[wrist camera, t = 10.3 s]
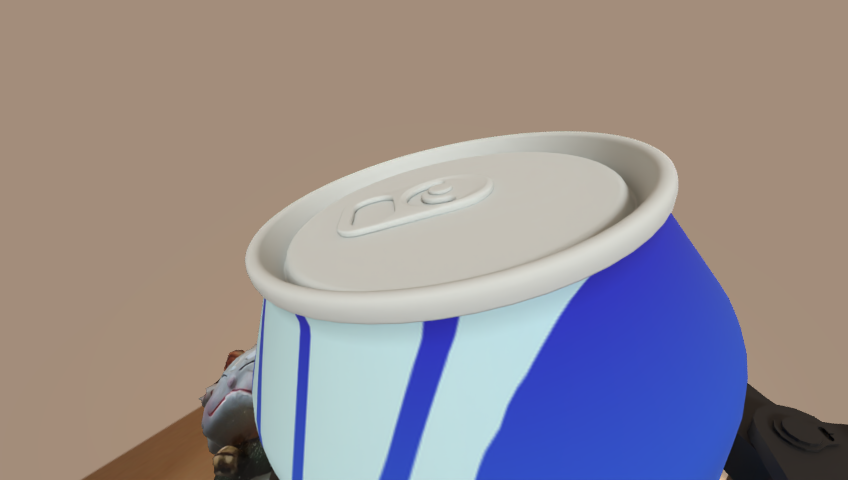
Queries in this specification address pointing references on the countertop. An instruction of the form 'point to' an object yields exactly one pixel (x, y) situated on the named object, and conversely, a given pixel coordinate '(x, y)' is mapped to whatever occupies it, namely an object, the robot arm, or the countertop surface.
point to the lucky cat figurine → (234, 422)
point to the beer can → (495, 321)
